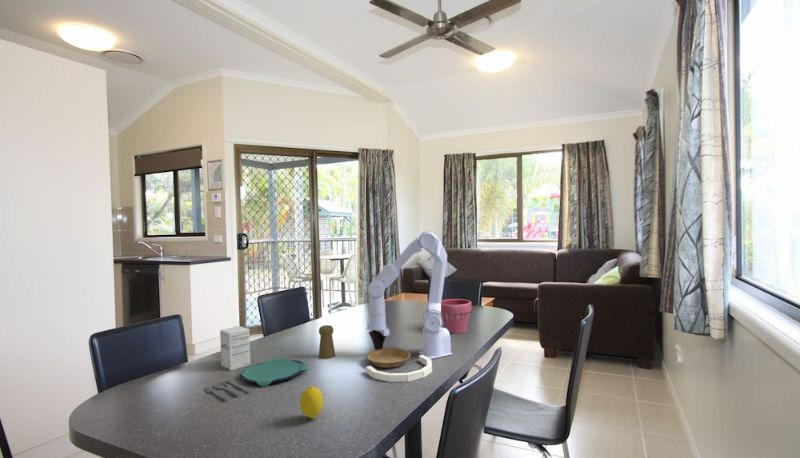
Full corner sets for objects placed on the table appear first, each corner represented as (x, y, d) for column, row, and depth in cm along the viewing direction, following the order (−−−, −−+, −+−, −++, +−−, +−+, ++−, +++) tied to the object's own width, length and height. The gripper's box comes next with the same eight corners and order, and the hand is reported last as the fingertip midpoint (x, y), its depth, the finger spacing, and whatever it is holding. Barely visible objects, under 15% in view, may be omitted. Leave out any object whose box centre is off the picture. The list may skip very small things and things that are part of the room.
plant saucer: (412, 355, 145) (411, 348, 145) (408, 370, 130) (408, 362, 130) (371, 355, 147) (371, 348, 147) (363, 370, 132) (363, 362, 132)
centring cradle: (422, 360, 139) (422, 354, 139) (444, 372, 128) (444, 366, 127) (366, 372, 129) (366, 366, 129) (384, 387, 118) (384, 380, 118)
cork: (331, 359, 144) (330, 328, 143) (315, 358, 145) (314, 327, 145) (337, 353, 150) (336, 323, 149) (322, 353, 151) (321, 323, 151)
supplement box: (220, 366, 140) (219, 329, 140) (241, 360, 145) (240, 325, 145) (230, 371, 135) (228, 333, 135) (251, 364, 140) (250, 328, 140)
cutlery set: (318, 372, 131) (317, 365, 131) (226, 407, 109) (226, 398, 109) (284, 360, 145) (284, 354, 145) (197, 389, 123) (196, 381, 123)
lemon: (302, 414, 102) (301, 382, 102) (324, 412, 103) (323, 381, 103) (298, 424, 97) (297, 391, 97) (322, 423, 97) (321, 390, 97)
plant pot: (440, 326, 183) (439, 298, 183) (471, 326, 182) (470, 298, 181) (438, 335, 169) (437, 305, 169) (472, 335, 167) (472, 304, 167)
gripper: (359, 311, 150) (360, 347, 150) (375, 319, 137) (376, 358, 138) (376, 309, 153) (377, 344, 154) (394, 316, 141) (395, 355, 141)
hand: (378, 351), depth 146 cm, fingers closed
